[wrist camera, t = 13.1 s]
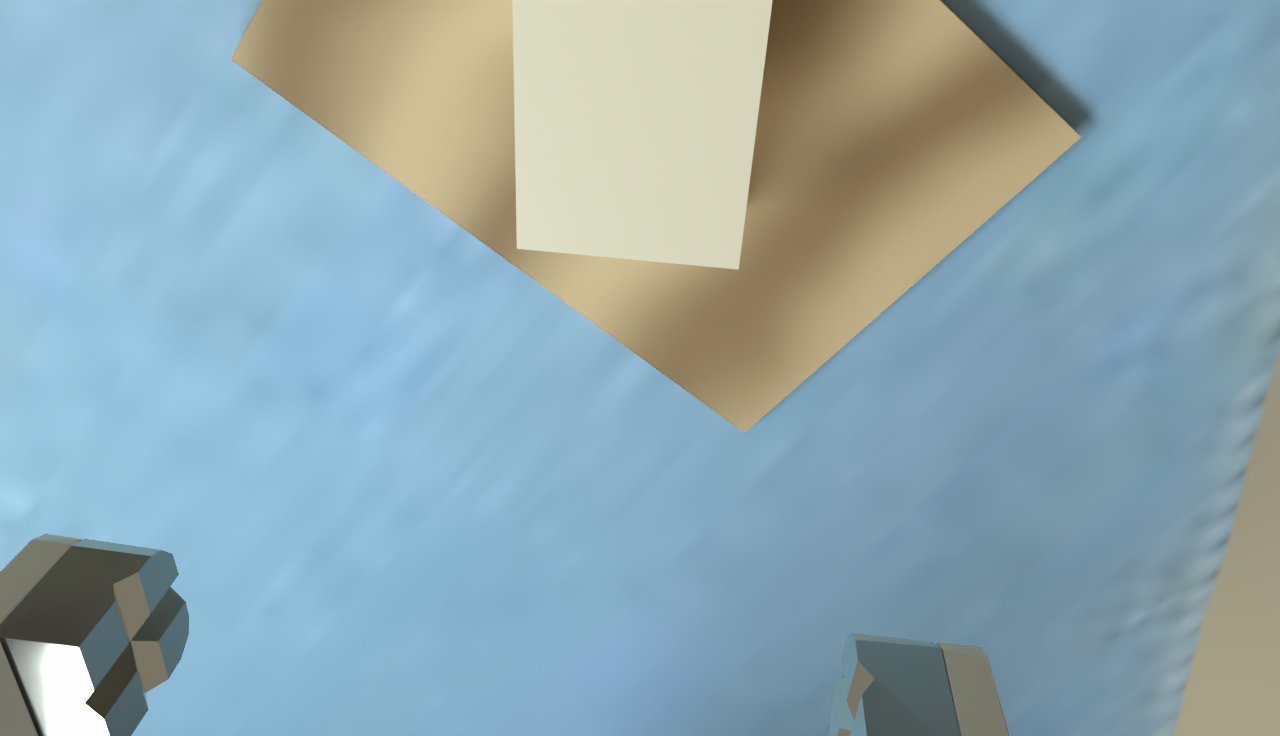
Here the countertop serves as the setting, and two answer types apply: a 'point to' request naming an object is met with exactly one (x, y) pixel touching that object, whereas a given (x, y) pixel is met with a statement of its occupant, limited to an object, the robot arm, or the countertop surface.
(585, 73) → the card box
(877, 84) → the mat
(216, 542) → the countertop surface
